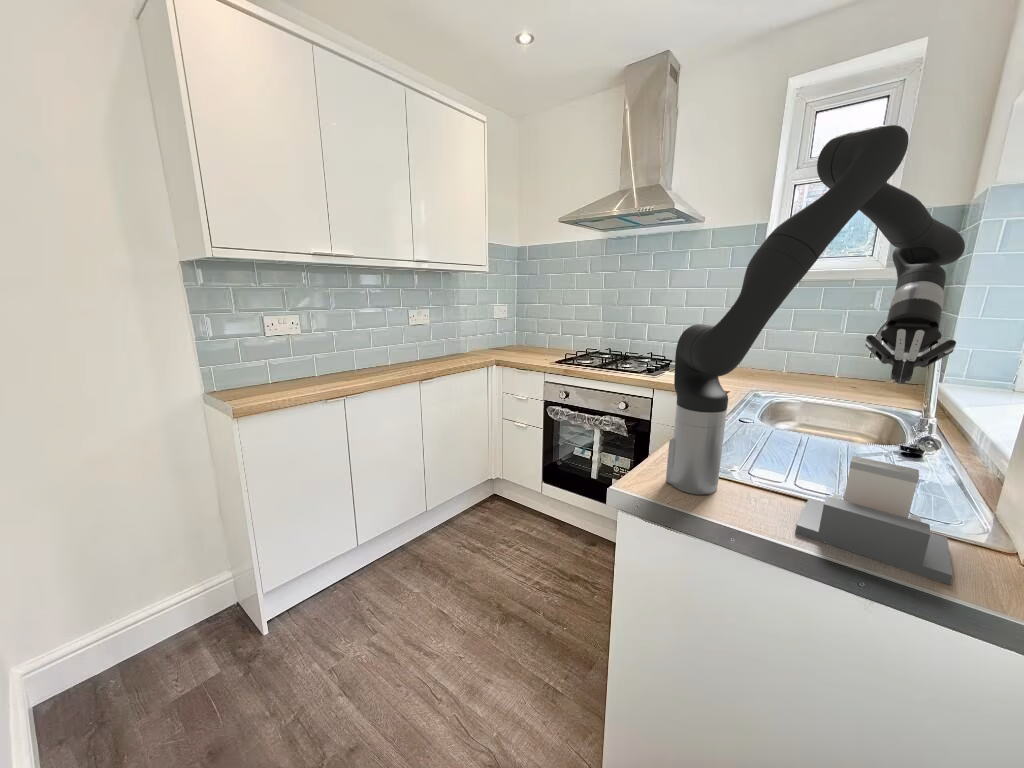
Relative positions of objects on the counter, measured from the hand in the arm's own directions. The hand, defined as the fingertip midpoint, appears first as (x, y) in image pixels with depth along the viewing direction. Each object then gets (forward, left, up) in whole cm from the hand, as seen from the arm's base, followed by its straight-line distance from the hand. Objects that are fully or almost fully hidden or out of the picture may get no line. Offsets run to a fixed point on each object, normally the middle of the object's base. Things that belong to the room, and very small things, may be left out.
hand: (900, 380), depth 75 cm
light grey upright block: (0, -17, -21) cm, 27 cm away
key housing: (0, -20, -23) cm, 30 cm away
